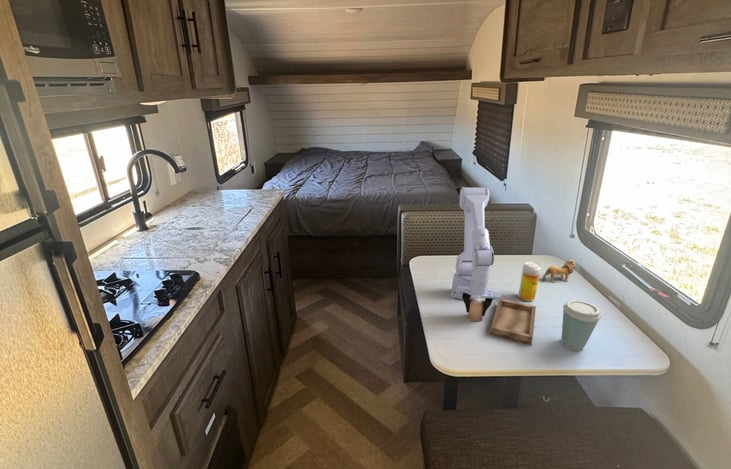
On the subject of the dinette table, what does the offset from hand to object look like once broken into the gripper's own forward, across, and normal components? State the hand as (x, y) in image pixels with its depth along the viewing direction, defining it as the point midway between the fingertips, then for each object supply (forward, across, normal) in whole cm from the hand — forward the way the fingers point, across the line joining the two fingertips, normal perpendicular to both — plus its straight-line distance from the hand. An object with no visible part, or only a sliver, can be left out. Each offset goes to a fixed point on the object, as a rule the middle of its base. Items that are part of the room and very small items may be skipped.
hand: (475, 313), depth 137 cm
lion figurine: (+2, +27, +44) cm, 51 cm away
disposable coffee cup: (+2, +32, -2) cm, 32 cm away
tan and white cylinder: (+2, 0, 0) cm, 2 cm away
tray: (+2, +13, +2) cm, 13 cm away
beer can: (+2, +16, +22) cm, 27 cm away
